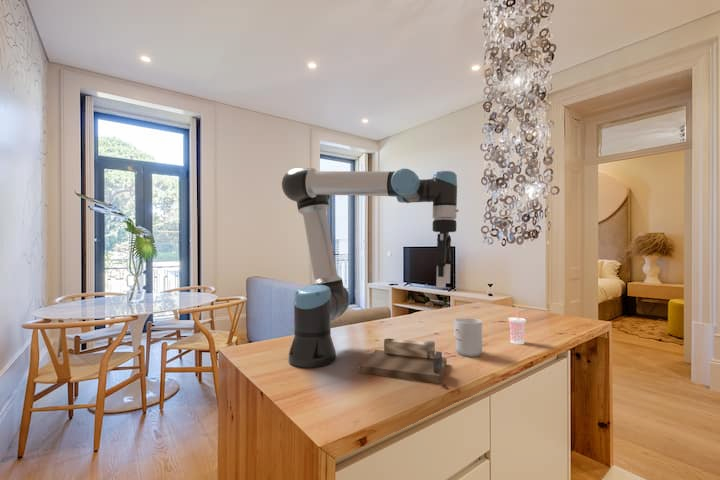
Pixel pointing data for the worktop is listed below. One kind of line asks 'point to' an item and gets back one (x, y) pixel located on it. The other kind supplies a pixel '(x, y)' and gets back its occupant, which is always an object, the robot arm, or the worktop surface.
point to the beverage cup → (517, 329)
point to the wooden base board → (405, 366)
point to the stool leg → (409, 348)
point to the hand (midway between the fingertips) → (443, 285)
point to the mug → (468, 336)
